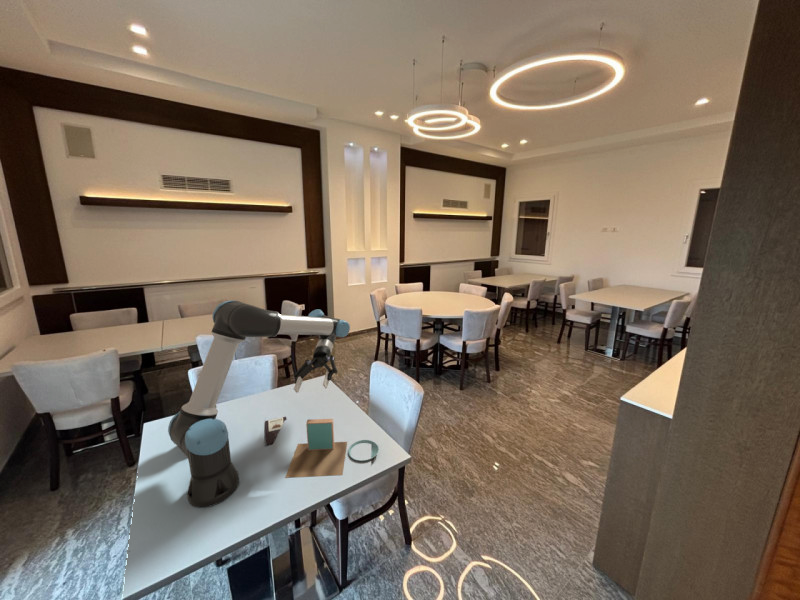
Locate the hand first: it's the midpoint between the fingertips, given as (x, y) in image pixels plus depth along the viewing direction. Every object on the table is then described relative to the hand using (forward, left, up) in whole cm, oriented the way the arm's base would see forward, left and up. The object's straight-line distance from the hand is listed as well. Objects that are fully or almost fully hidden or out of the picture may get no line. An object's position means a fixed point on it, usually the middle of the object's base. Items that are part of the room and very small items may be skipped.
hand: (310, 388), depth 130 cm
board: (+5, -16, -22) cm, 28 cm away
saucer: (+22, -13, -22) cm, 34 cm away
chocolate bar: (-17, +4, -22) cm, 28 cm away
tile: (+5, -10, -21) cm, 24 cm away
